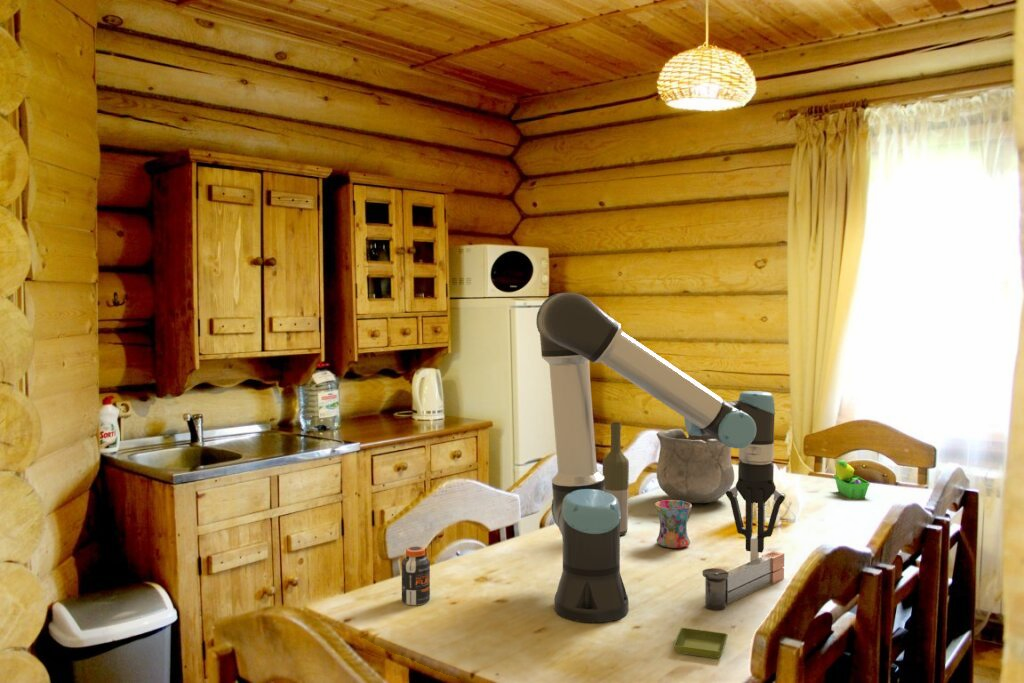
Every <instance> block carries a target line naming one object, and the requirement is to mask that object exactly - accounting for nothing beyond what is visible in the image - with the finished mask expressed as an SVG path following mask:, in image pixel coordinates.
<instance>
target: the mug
mask: <svg viewBox="0 0 1024 683" xmlns="http://www.w3.org/2000/svg"><path fill="white" fill-rule="evenodd" d="M654 506H655V508H656V512H657V514H658V517H659V518H658V519H659V533H658V536H657V539H656V543H657V544H658V545H660V546H662V547H664V548H668V549H680V548H681V549H682V548H684V547H687V546H689V545H690V544H691V540H690V539H689V536H688V530H687V525H688V521H689V519H690V516H691V513H692V506H693V505H692V503H688V502H685V501H679V500H676V499H664V500H658V501H656V502H655V503H654Z"/></svg>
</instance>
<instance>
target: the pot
mask: <svg viewBox="0 0 1024 683" xmlns="http://www.w3.org/2000/svg"><path fill="white" fill-rule="evenodd" d="M686 433H687V435H688V436H687V435H686ZM686 433H685V431H684V429H682V428H671V429H665V430H662V431H658V432H657V433H656V435H655V436H657V439H658V440H659V445H660V447H659V453H658V460H657V468H656V479H657V483H658V486H659V487H660V489H661V490H662V491H663V492H664V493H665V494H666V495H667V496H669V497H670V498H672V499H673V500H679V501H685V502H688V503H690V504H708V503H712V502H716V501H718V500H719V499H721V498H722V497H723V496H725V495H726V491H727V490H728V489H732V486H733V485H734V483H735V470H734V467H733V464H732V454H731V453H732V451H731V450H732V449H731V447H728V446H726V445H724V444H723V443H722V442H720V441H718V440H716V439H714V438H712V437H710V436H696V435H690V434H689V433H688V432H687V431H686Z"/></svg>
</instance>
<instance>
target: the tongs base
mask: <svg viewBox="0 0 1024 683" xmlns="http://www.w3.org/2000/svg"><path fill="white" fill-rule="evenodd" d="M702 576H703V577H704V578H705V586H704V587H705V590H704V591H705V593H704V594H705V595H704V597H705V599H704V600H705V601H704V602H705V605H704V607H705V608H706V609H708V610H709V611H710V610H711V611H716V612H717V611H724V610H725V609H726V605H729V604H731V603H734V602H735V601H737V600H740V599H741V598H744V597H745V596H749V595H750V594H752V593H754V592H756V591H759V590H760V589H762V588H766V587H767V586H768V585H771V584H776V583H778V582H779V581H781V580H783V579H785V568H784V567H782V568H780V569H778V570H776V571H774V572H772V571H771V572H769V573H767V574H765V575H763V576H760V577H758V578H756V579H754V580H752V581H750V582H747V583H745V584H743V585H741V586H739V587H737V588H734V589H732V590H730V591H728V592H727V591H725V589H726V578H728V577H729V573H728V570H725V569H721V568H712V567H711V568H705V569H703V570H702Z"/></svg>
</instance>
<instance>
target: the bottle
mask: <svg viewBox="0 0 1024 683" xmlns="http://www.w3.org/2000/svg"><path fill="white" fill-rule="evenodd" d="M621 430H622V423H621V422H610V451H609V452H608V454H607V455H606V456H605V457H604V458H603V459H602V475H604V477H605V489H606V493H610V494H612V495H613V496H615V497H616V498H617V500H618V502H619V507H620V512H621V519H620V536H623V535H626V534H627V533H628V525H629V524H628V522H629V521H628V520H629V517H628V516H629V485H630V484H629V480H630V478H629V476H630V475H629V472H630V462H629V459H628V458H627V457H626V456H625V455H624V453H623V452H622V449H621V443H622V442H621V440H622V439H621V435H622V434H621Z"/></svg>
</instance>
